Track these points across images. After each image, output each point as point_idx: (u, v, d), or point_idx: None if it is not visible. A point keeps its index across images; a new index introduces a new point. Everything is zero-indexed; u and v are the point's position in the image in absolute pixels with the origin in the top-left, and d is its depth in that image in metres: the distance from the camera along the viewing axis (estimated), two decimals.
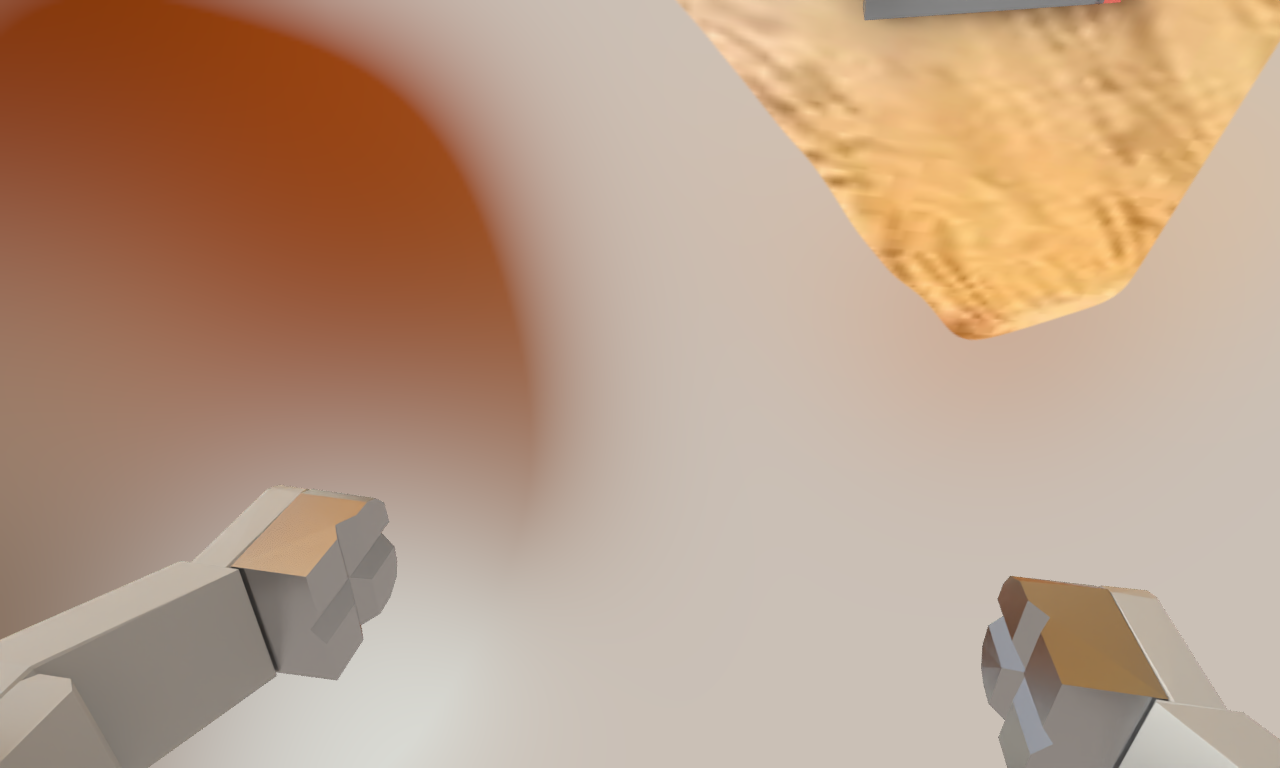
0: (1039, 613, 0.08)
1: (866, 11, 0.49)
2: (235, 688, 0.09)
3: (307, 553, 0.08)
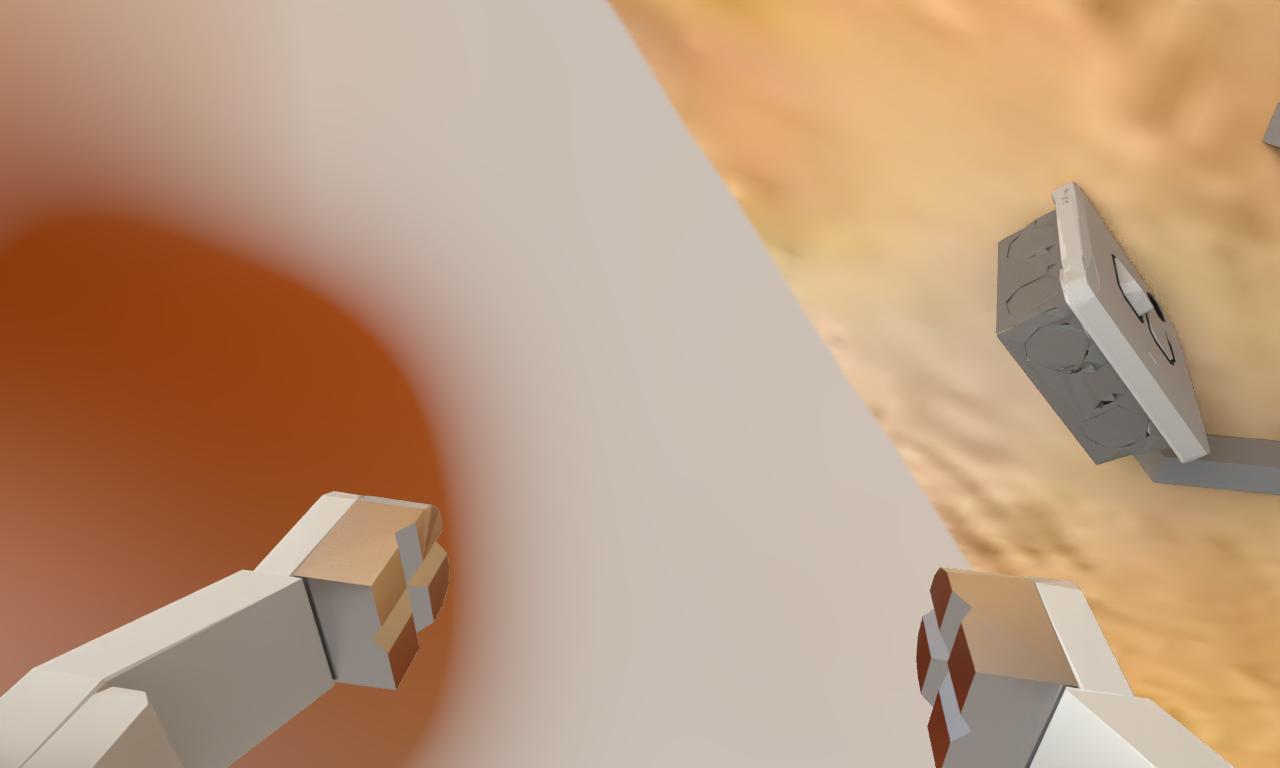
0: (962, 603, 0.08)
1: (1159, 472, 0.34)
2: (296, 699, 0.08)
3: (370, 562, 0.08)
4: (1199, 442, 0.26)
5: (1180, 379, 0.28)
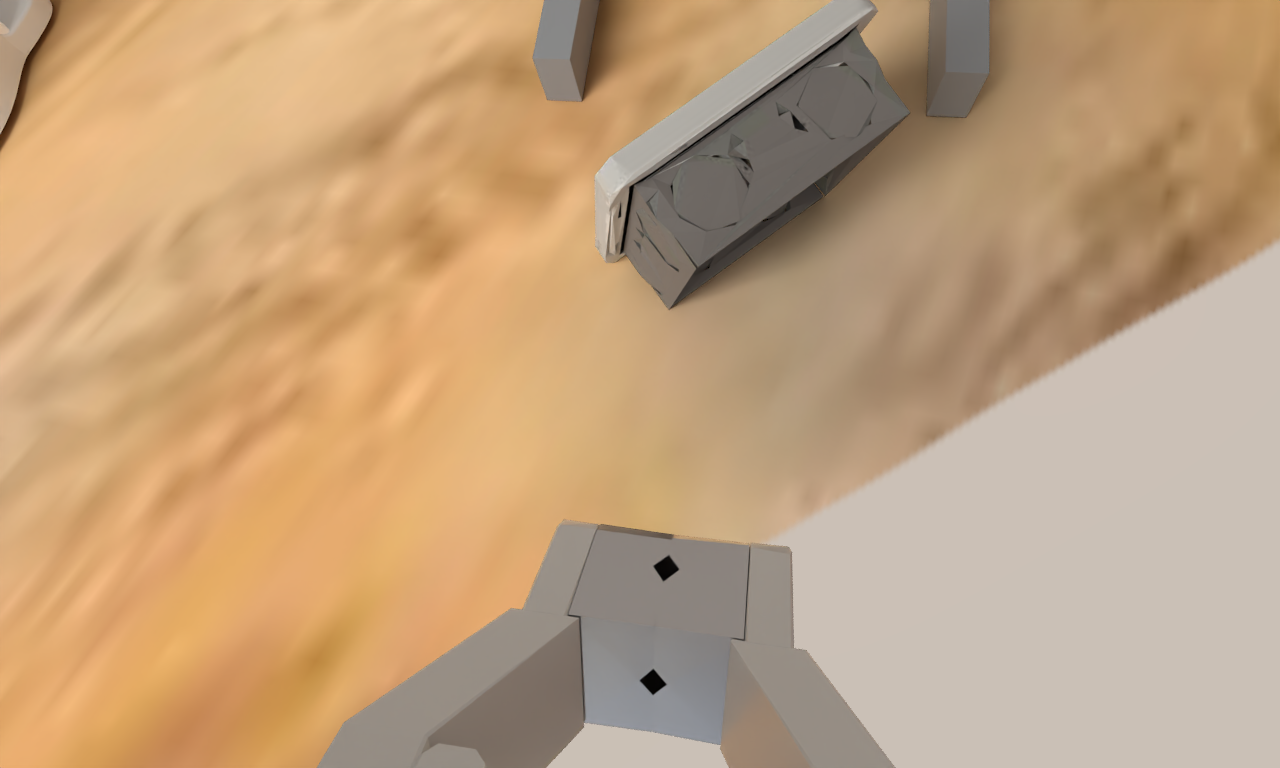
0: (676, 566, 0.08)
1: (972, 71, 0.26)
2: (555, 743, 0.08)
3: (641, 599, 0.08)
4: (833, 0, 0.19)
5: None
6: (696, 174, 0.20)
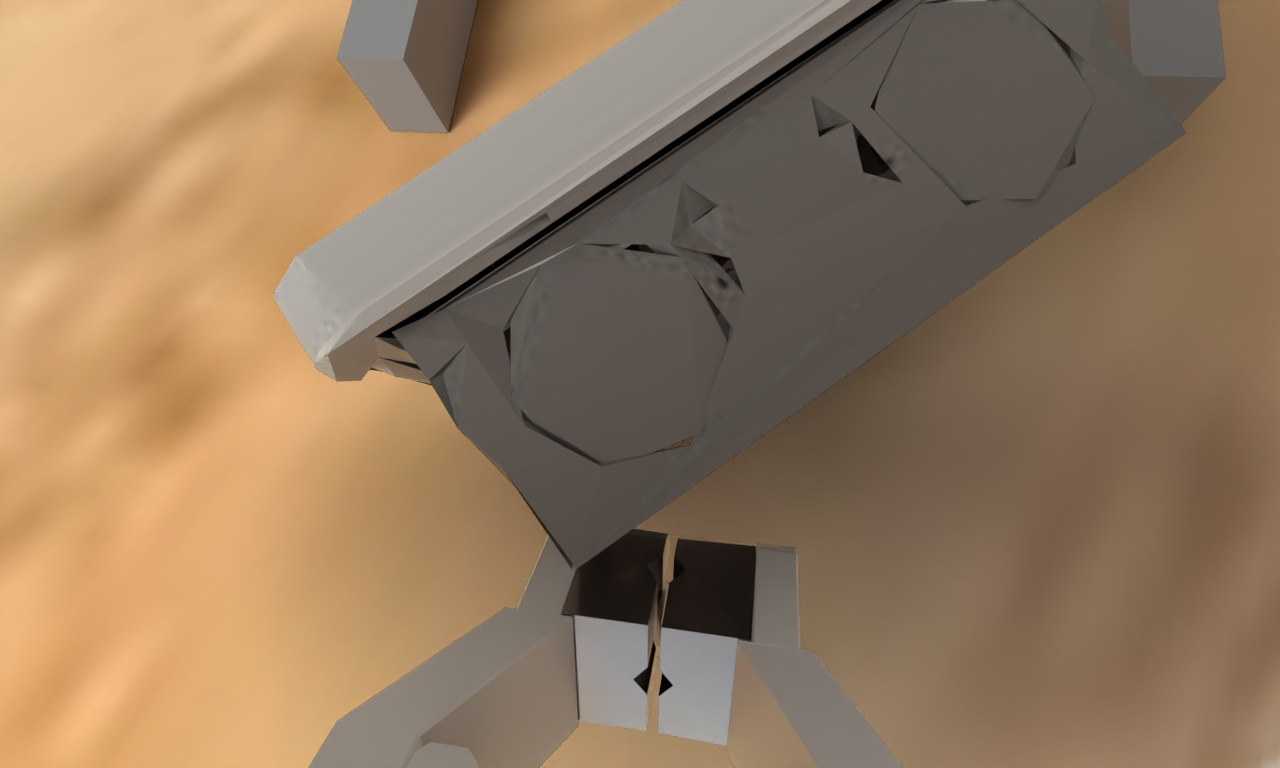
0: (682, 567, 0.08)
1: (1189, 73, 0.13)
2: (550, 742, 0.08)
3: (634, 597, 0.08)
4: None
5: None
6: (579, 299, 0.07)
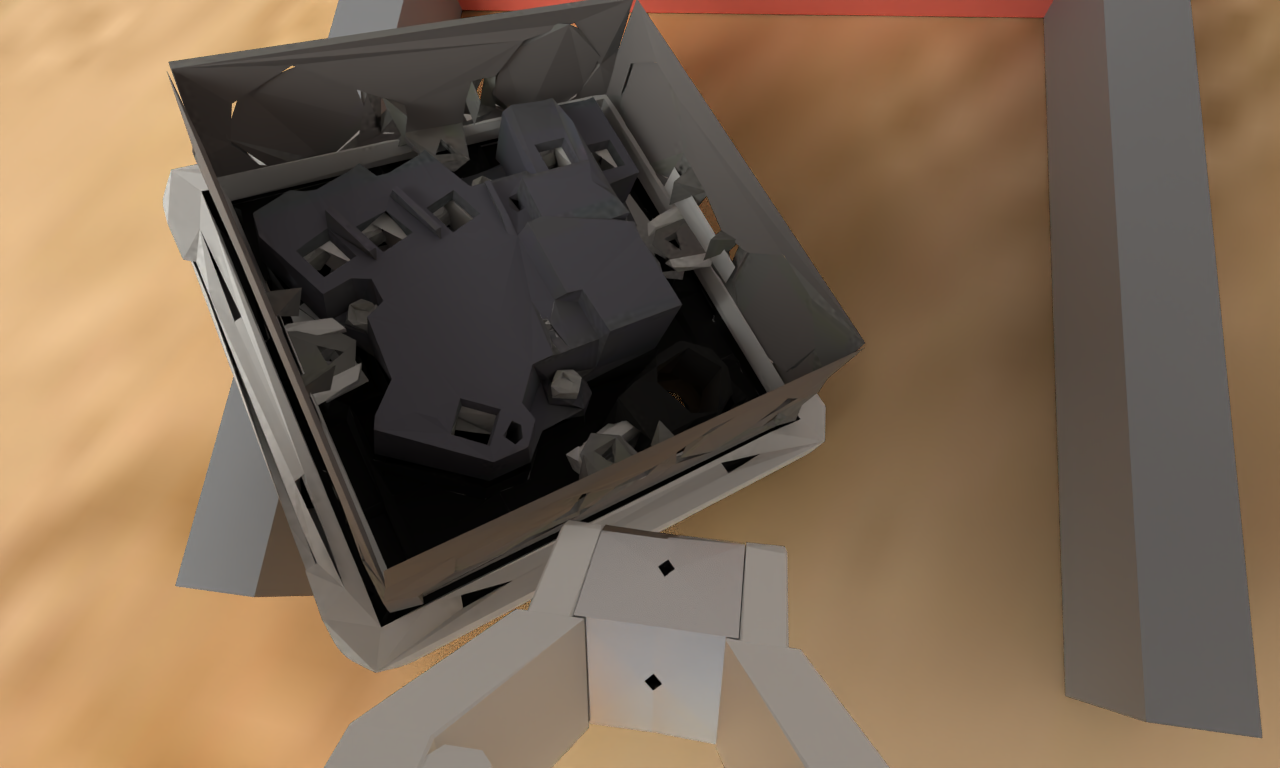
0: (672, 566, 0.08)
1: (1216, 726, 0.10)
2: (560, 744, 0.08)
3: (646, 600, 0.08)
4: None
5: None
6: None
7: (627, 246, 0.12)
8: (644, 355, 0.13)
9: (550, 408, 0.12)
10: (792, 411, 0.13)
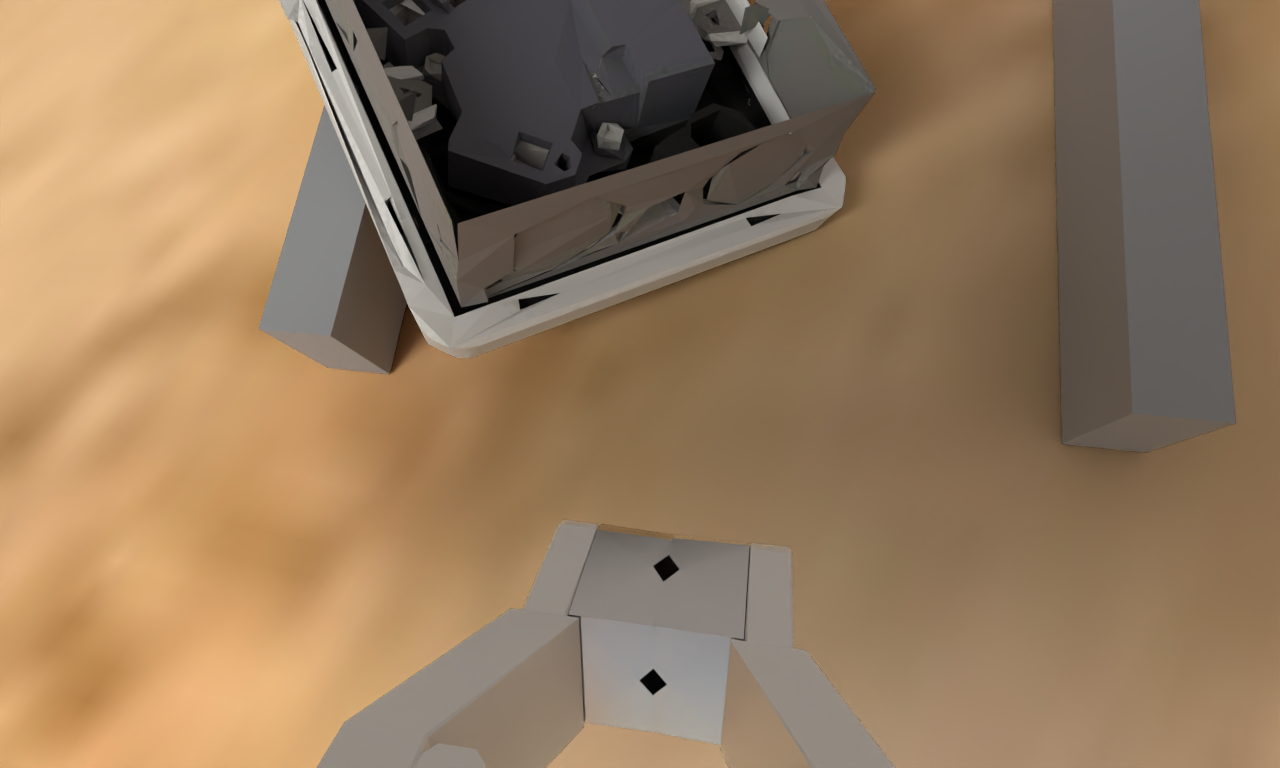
0: (676, 566, 0.08)
1: (1195, 415, 0.11)
2: (556, 743, 0.08)
3: (641, 599, 0.08)
4: None
5: None
6: None
7: (668, 11, 0.14)
8: (682, 123, 0.15)
9: (596, 158, 0.14)
10: (812, 172, 0.14)
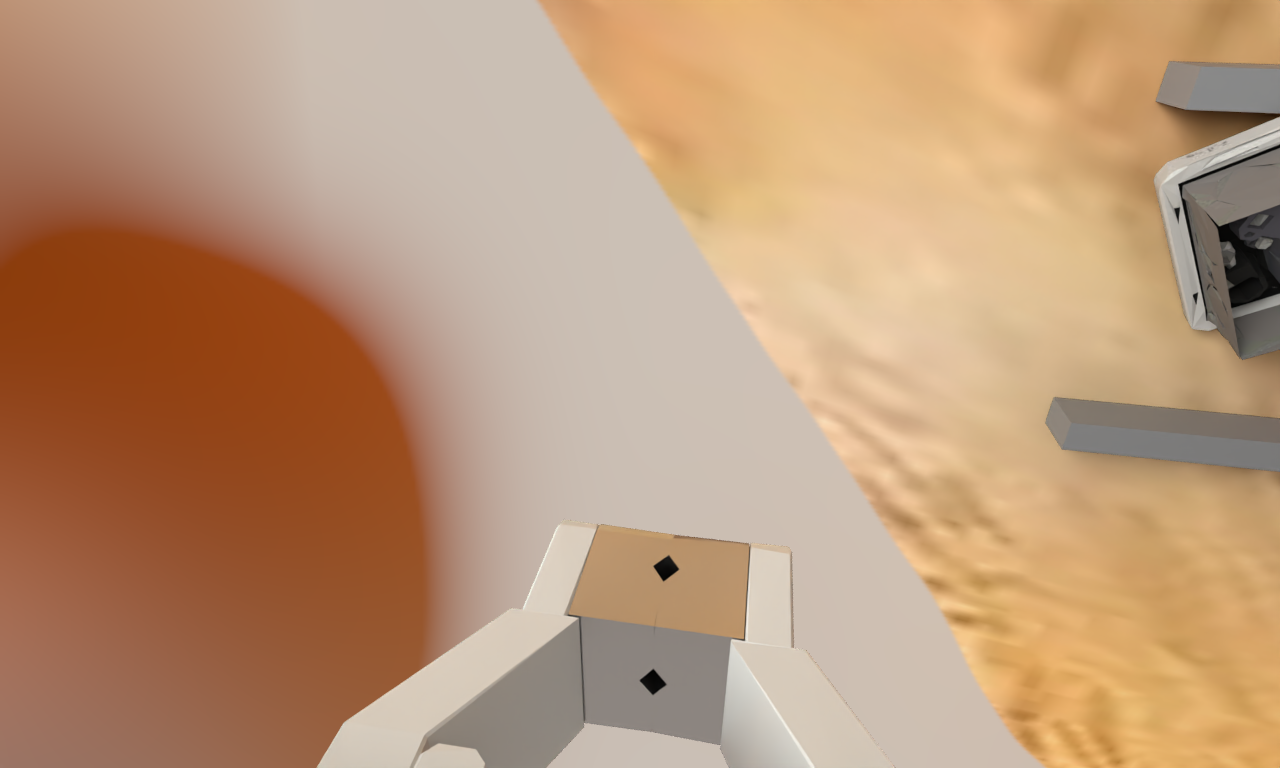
0: (676, 566, 0.08)
1: (1067, 439, 0.34)
2: (555, 742, 0.08)
3: (641, 599, 0.08)
4: None
5: None
6: None
7: None
8: (1266, 265, 0.30)
9: None
10: (1214, 322, 0.31)
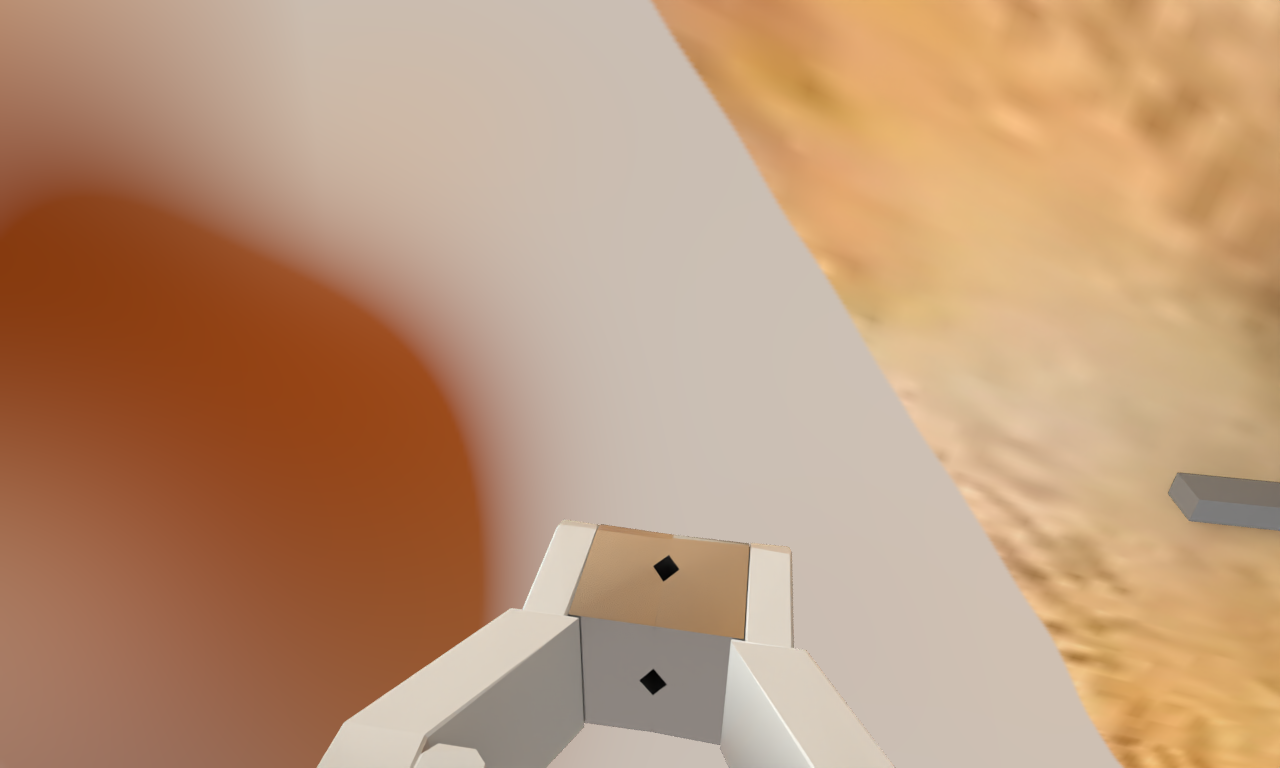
0: (676, 566, 0.08)
1: (1194, 513, 0.39)
2: (555, 742, 0.08)
3: (640, 599, 0.08)
4: None
5: None
6: None
7: None
8: None
9: None
10: None
